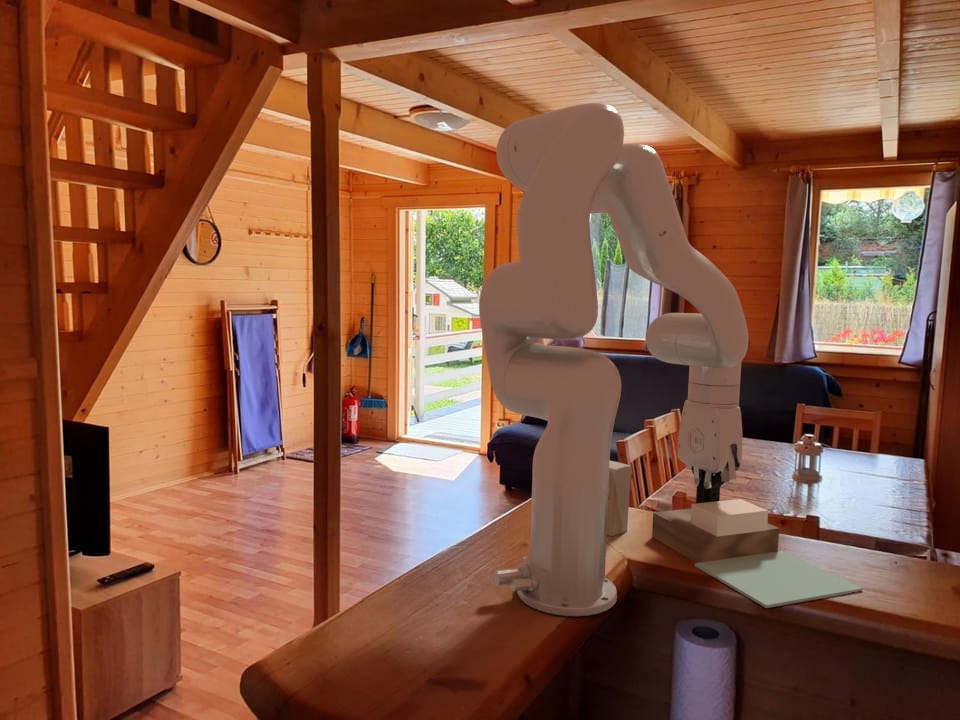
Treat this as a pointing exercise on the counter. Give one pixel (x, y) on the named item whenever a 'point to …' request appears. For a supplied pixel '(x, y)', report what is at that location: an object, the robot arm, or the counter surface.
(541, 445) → the robot arm
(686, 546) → the plate
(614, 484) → the box
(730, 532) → the beige rectangular block
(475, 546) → the counter surface
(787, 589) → the mat
